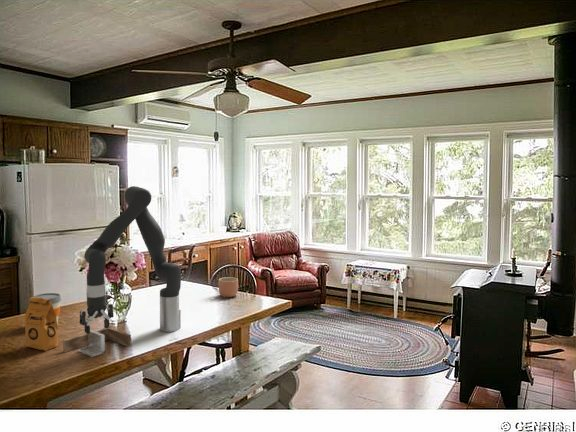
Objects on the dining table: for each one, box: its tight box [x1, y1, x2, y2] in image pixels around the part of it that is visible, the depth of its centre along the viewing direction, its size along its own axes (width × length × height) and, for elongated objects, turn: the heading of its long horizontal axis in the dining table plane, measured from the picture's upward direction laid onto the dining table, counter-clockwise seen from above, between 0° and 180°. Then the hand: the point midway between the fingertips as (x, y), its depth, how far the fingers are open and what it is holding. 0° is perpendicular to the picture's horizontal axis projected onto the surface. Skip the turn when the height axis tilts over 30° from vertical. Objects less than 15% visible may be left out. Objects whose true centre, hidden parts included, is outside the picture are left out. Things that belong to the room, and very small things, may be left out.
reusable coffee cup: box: [33, 292, 62, 325], centre depth 223 cm, size 13×13×15 cm
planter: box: [218, 276, 239, 298], centre depth 285 cm, size 12×12×11 cm
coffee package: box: [24, 296, 59, 352], centre depth 195 cm, size 10×12×22 cm
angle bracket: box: [78, 329, 106, 358], centre depth 191 cm, size 10×6×8 cm, turn 54°
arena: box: [62, 326, 132, 353], centre depth 195 cm, size 22×16×5 cm
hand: (97, 330), depth 193 cm, fingers open, 8 cm apart
